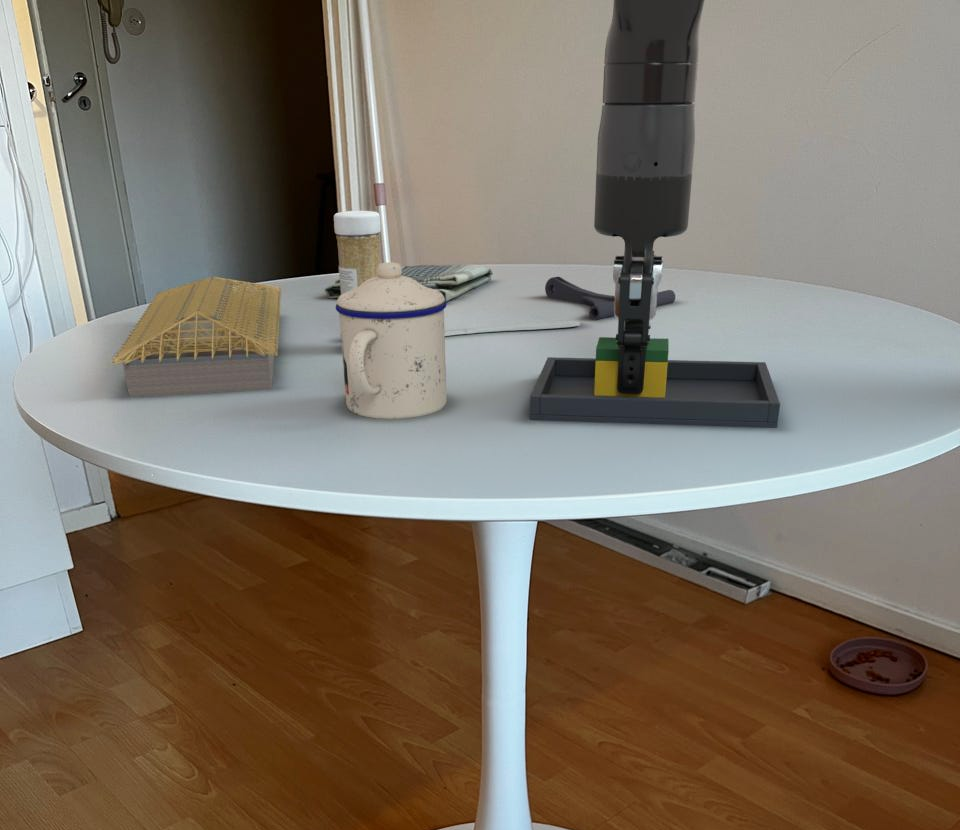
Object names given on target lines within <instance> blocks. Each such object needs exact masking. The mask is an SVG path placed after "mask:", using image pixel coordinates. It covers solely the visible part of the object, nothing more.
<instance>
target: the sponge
mask: <svg viewBox="0 0 960 830" xmlns="http://www.w3.org/2000/svg"><path fill="white" fill-rule="evenodd" d="M616 341H617V340H616V337H609V336H607V337H605V336H604V337H603V336H600V337H599V338H598V341H597V344H596V348H595V358H596V364H595V387H594V396H619V397H651V398H665V390H666V377H667V365H668V360H669V353H670V352H669V349H670V348H669V346H670V345H669V338H655V337H654V338H651V337H650V344H649V345H648V346H647V349H646V358H645V372H644V387H643V391H642V392H641V393H640V394H622V393H620V392H618V390H617V380H618V362H619V348H618V345H617V344H616Z"/></svg>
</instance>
